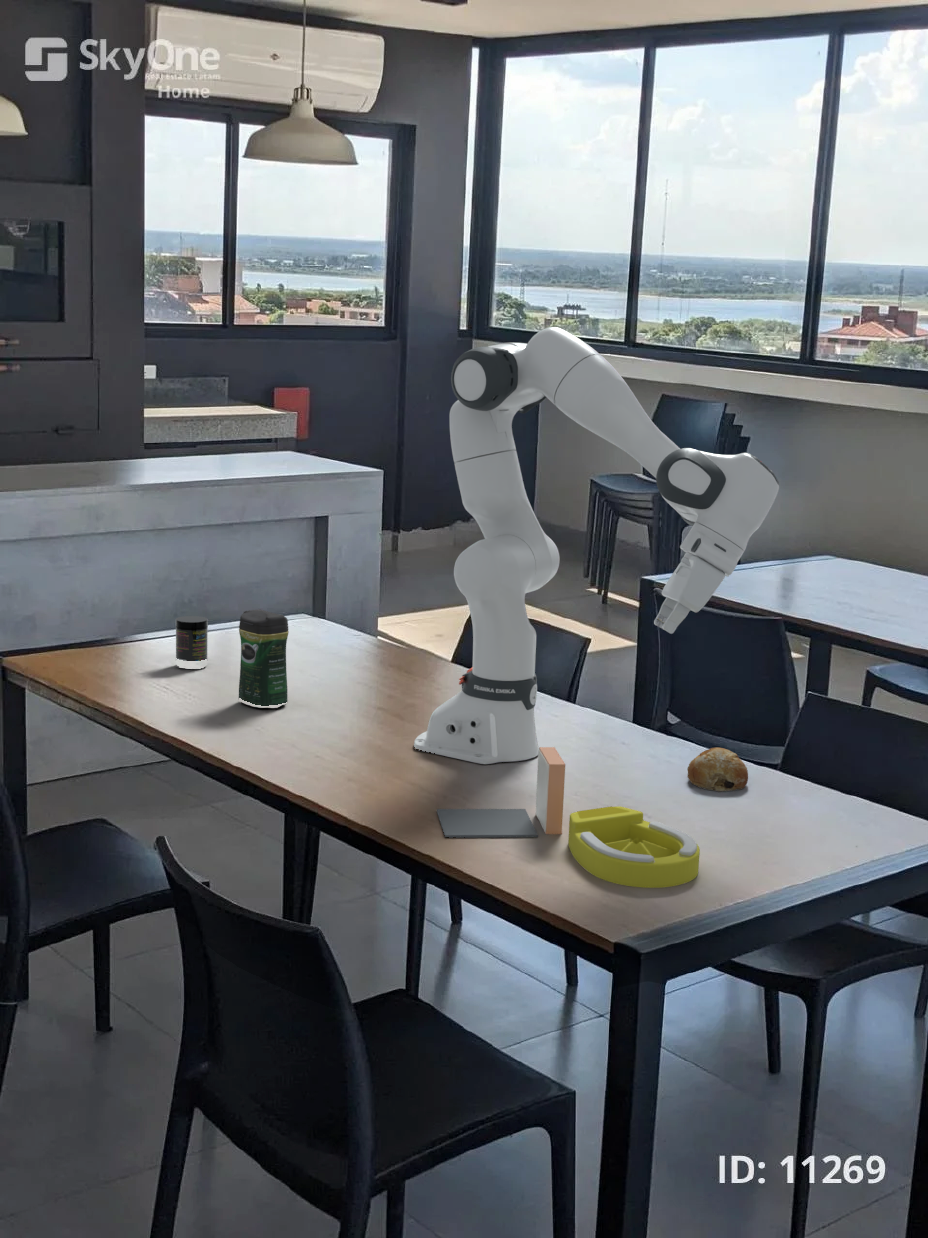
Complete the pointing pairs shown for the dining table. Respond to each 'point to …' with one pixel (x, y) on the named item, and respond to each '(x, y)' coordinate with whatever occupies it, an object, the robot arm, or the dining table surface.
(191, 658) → the supplement container
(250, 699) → the coffee jar
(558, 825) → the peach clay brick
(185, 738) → the dining table surface
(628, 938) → the dining table surface
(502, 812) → the rubber mat
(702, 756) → the bread roll
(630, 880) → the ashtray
